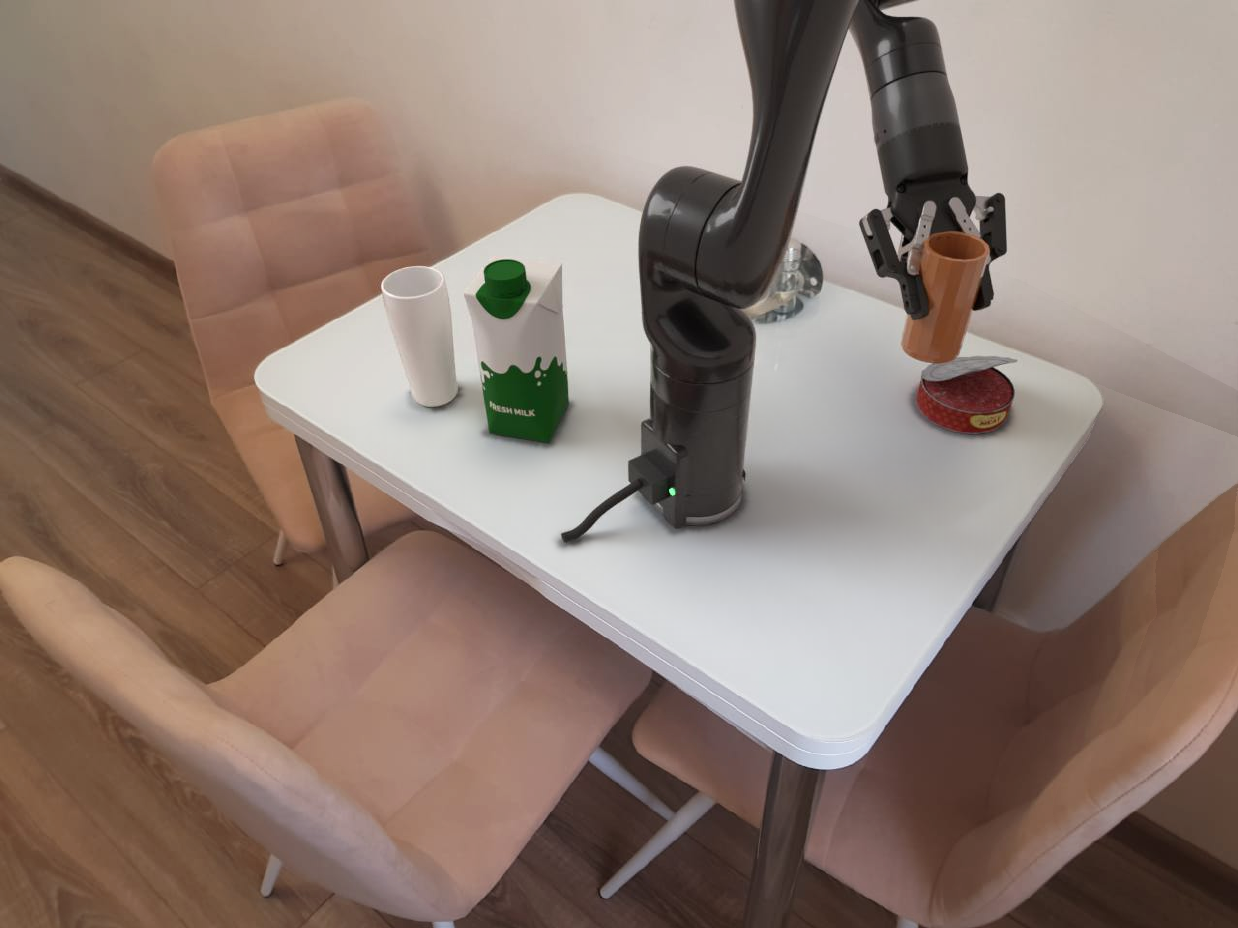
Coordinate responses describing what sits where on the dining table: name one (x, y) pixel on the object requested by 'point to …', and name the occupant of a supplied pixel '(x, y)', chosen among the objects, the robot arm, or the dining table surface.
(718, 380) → the robot arm
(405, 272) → the drinking glass
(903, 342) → the tumbler
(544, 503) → the dining table surface
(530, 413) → the milk carton
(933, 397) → the canned food
